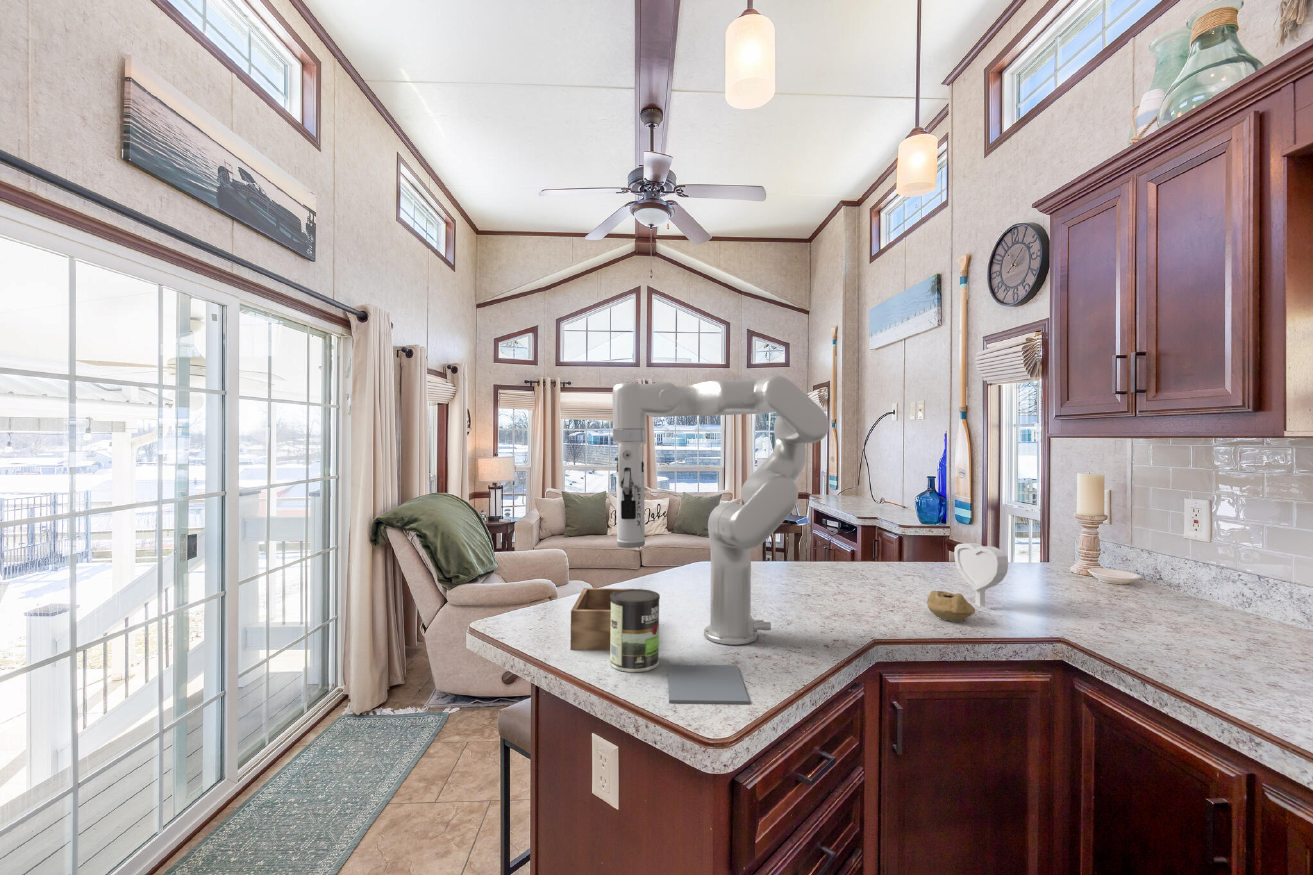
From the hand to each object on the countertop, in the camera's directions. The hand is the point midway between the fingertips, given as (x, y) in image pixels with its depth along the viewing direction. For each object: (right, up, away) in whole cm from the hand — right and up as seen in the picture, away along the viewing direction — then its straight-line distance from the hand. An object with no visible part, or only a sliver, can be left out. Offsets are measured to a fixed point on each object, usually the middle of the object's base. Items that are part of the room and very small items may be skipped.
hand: (630, 516), depth 125 cm
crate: (-6, -29, +7) cm, 31 cm away
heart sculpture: (+98, -31, +32) cm, 107 cm away
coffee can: (+1, -29, -10) cm, 31 cm away
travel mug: (0, -7, 0) cm, 7 cm away
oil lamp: (+84, -31, +23) cm, 92 cm away
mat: (+15, -29, -20) cm, 39 cm away
